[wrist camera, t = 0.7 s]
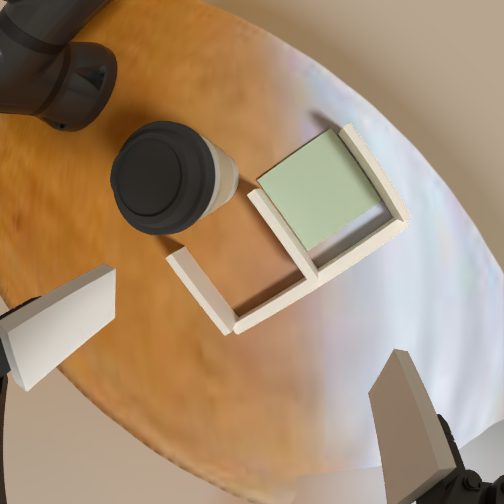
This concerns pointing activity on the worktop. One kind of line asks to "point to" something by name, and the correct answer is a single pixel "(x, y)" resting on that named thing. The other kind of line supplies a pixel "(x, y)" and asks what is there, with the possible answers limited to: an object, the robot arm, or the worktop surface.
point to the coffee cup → (170, 178)
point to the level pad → (319, 189)
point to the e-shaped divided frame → (296, 249)
